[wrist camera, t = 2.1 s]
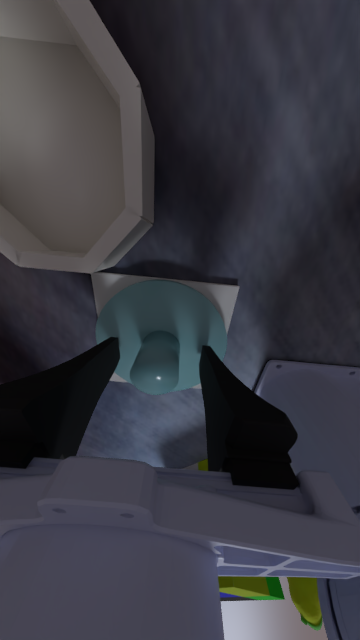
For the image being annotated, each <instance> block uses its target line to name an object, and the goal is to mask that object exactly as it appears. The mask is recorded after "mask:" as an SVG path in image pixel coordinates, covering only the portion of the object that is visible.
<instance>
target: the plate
mask: <svg viewBox="0 0 360 640" xmlns="http://www.w3.org/2000/svg"><path fill="white" fill-rule="evenodd" d="M91 278H92V285H93V291H94V297H95V303H96V309H97V316H98V317H99V315H100V312H101V310H102V309H103V307H104V306H105V304H106V303H107V302H108V301H109V300H110V299H111V298H112V297H113V296H114V295H116V294H117V293H118V292H120V291H121V290H123V289H124V288H126V287H128V286H130V285H132V284H135V283H137V282H141V281H146V280H154V279H161V280H171V281H176V282H179V283H183V284H186V285H188V286H190V287H192V288H194V289H196V290H197V291H199V292H200V293H202V294H203V295H204V296H205V297H207V298H208V299H209V300H210V301H211V302H212V304H213V305H214V306H215V307H216V309H217V310H218V312H219V314H220V316H221V318H222V320H223V322H224V325H225V329H226V333H227V332H228V329H229V325H230V321H231V317H232V313H233V310H234V306H235V302H236V298H237V295H238V291H239V286H238V285H227V284H217V283H207V282H197V281H186V280H176V279H166V278H156V277H145V276H135V275H125V274H115V273H104V272H94V273H91ZM109 381H120V382H127V381H126V380H124V379H123V378H121V377H120V376H118V375H117V374H116V373H115V372H114V373H113V375H112V377H111V379H110V380H109ZM191 388H200V389H202V388H201V383H200V384H198V385H196V386H194V387H191Z"/></svg>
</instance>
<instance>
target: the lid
mask: <svg viewBox="0 0 360 640" xmlns="http://www.w3.org/2000/svg"><path fill="white" fill-rule="evenodd" d="M110 337H118V339H119V349H120V360H119V363H118V365H117V367H116V370H115V371H114V372H115V373H116V374H117V375H118V376H120V377H121V378H123V379H124V380H126V381H127V382H129V383H131V384H133V385H134V386H135V387H136V388H137V389H139V390H140V391H142V392H145V393H148V394H153V395H161V394H166V393H168V392H172V391H180V390H184V389H188V388H191V387H194V386H196V385H198V384H200V383H201V382H200V376H199V362H200V356H201V351H202V346H203V345H206V346H211V348H212V349H213V350H214V352H215V353H216V355H217V356H218V357H219V359H220V360H221V361H223V359H224V356H225V353H226V348H227V333H226V329H225V325H224V322H223V320H222V318H221V316H220V314H219V312H218V310H217V309H216V307H215V306H214V305H213V304H212V302H211V301H210V300H209V299H208V298H207V297H205V296H204V295H203V294H202V293H200V292H199V291H197V290H196V289H194V288H192V287H190V286H188V285H186V284H183V283H179V282H176V281H171V280H161V279H154V280H146V281H141V282H137V283H135V284H132V285H130V286H128V287H126V288H124V289H123V290H121V291H120V292H118V293H117V294H116V295H114V296H113V297H112V298H111V299H110V300H109V301H108V302H107V303H106V304H105V306H104V307H103V309H102V310H101V312H100V315H99V317H98V320H97V324H96V341H97V345H98V344H99V343H101V342H103V341H104V340H106V339H108V338H110Z"/></svg>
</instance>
